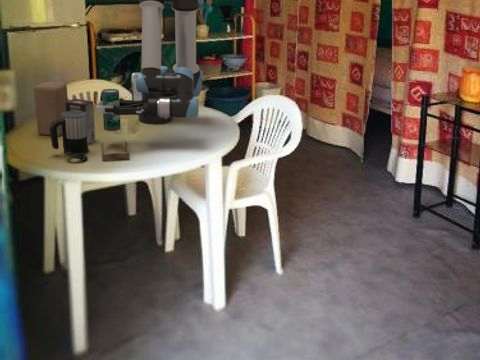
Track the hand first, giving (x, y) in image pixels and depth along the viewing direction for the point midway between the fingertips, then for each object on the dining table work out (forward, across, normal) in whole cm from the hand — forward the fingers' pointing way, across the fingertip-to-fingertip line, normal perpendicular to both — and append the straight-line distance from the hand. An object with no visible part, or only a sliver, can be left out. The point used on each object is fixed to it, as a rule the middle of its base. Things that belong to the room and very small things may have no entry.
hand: (97, 107), depth 234 cm
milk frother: (+7, -12, -15) cm, 21 cm away
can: (-5, 0, -9) cm, 10 cm away
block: (+21, +16, -15) cm, 30 cm away
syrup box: (-9, +65, -15) cm, 67 cm away
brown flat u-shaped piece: (-7, -11, -15) cm, 20 cm away
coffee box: (+8, +5, -15) cm, 18 cm away
